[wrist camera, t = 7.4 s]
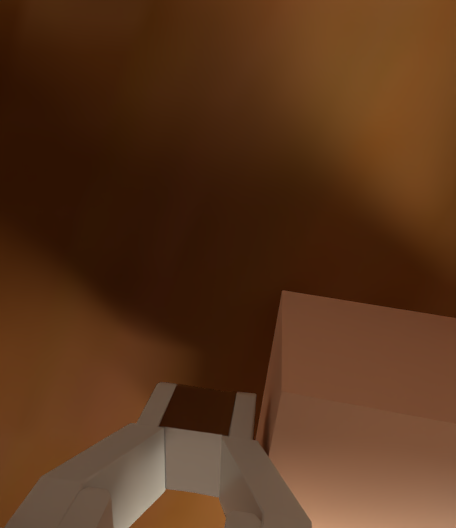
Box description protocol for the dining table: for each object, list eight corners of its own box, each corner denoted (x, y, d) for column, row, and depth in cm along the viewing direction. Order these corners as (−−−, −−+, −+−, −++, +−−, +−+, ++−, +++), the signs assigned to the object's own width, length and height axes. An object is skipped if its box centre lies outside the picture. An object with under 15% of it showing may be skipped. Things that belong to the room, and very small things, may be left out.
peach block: (282, 288, 11) (281, 390, 7) (555, 332, 11) (766, 481, 6) (248, 478, 14) (231, 646, 9) (465, 525, 13) (564, 732, 9)
